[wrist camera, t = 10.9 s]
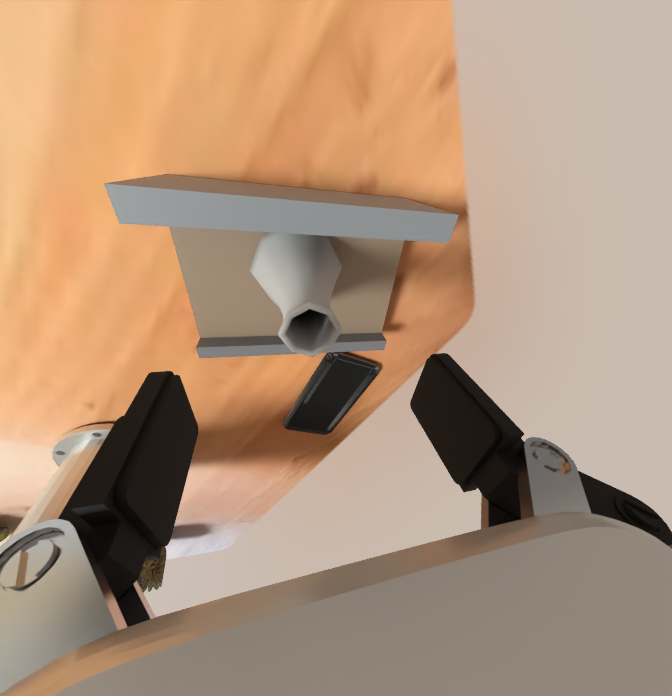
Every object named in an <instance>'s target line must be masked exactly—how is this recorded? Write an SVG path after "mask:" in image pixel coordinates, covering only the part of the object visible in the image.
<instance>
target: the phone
mask: <svg viewBox="0 0 672 696" xmlns="http://www.w3.org/2000/svg"><path fill="white" fill-rule="evenodd" d="M378 373H379V367H378V365H377V364H376V363H375V362H372V361H369V360H366V359H363V358H360V357H357V356H354V355H351V354H348V353H345V352H328V353H327V354H326V355H325V357H324V358H323V360H322V361H321V363H320V365H319V366H318V368H317V369H316V371H315V372H314V374H313V375H312V377H311V378H310V380H309V382H308V383H307V385H306V387H305V388H304V390H303V391H302V393H301V394H300V396H299V398H298V399H297V401H296V402H295V404H294V405H293V407H292V409H291V410H290V412H289V413H288V415H287V416H286V418H285V420H284V427H285V428H286V429H289V430H295V431H302V432H308V433H315V434H321V435H325V434H329V433H331V432H332V431H333V429H334V428H335V427H336V426H337V424H338V423H339V422H340V421H341V419H342V418H343V417H344V416H345V414H346V413H347V412H348V411H349V409H350V408H351V407H352V406H353V405H354V403H355V402H356V401H357V400H358V398H359V397H360V396H361V395H362V393H363V392H364V391H365V390H366V388H367V387H368V386H369V385H370V383H371V382H372V381H373V380H374V379H375V377H376V376H377V375H378Z"/></svg>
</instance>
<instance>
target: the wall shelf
mask: <svg viewBox="0 0 672 696" xmlns="http://www.w3.org/2000/svg"><path fill="white" fill-rule="evenodd" d="M104 184H105V187H106V190H107V192H108V195H109V197H110V200H111V203H112V205H113V208H114V210H115V213H116V216H117V218H118V221H119V223H120V224H137V225H154V226H169V227H170V231H171V235H172V238H173V242H174V245H175V249H176V253H177V256H178V260H179V263H180V267H181V270H182V274H183V278H184V281H185V285H186V288H187V292H188V296H189V299H190V303H191V306H192V310H193V314H194V317H195V321H196V324H197V328H198V332H199V335H200V340H199V342H198V345H197V347H196V348H197V352H198V355H199V358H214V357H236V356H259V355H281V354H299V353H295V352H292V351H291V350H290V349H289V348H288V347H287V345H286V344H285V343H284V342H283V340H282V339H281V338H280V337H279V336H278V332H279V330H280V327H281V325H282V323H283V314H282V312H281V310H280V308H279V306H278V305H276V304H275V303H274V302H273V301H272V300H271V299H270V297H269V296H268V295H267V293H266V292H265V291H264V289H263V288H262V287H261V285H260V284H259V283H258V281H257V280H256V279H255V277H254V276H253V275H252V273H251V272H250V268H251V265H252V262H253V259H254V255H255V252H256V249H257V246H258V243H259V240H260V237H261V236H262V235H264V234H265V233H267V232H272V233H289V234H305V235H322V236H329V238H330V240H331V242H332V244H333V247H334V249H335V251H336V253H337V255H338V257H339V259H340V262H341V264H342V269H341V272H340V274H339V276H338V278H337V281H336V283H335V286H334V289H333V292H332V295H331V309H332V311H333V312H334V314H335V316H336V318H337V319H338V321H339V323H340V325H341V326H342V331H341V333H340V335H339V336H338V338H337V340H336V341H335V343H334V345H333V346H332V347H331V348H329V349H327V350H326V351H324V352H322V353H326V352H349V351H371V350H384V348H385V344H386V339H385V338H384V336H383V334H382V329H383V325H384V321H385V317H386V313H387V309H388V305H389V301H390V297H391V293H392V289H393V285H394V281H395V277H396V273H397V269H398V265H399V261H400V257H401V253H402V249H403V245H404V241H405V240H406V241H423V242H440V243H449V241H450V238H451V236H452V233H453V230H454V227H455V224H456V221H457V218H458V216H459V215H458V214H454V213H451V212H448V211H445V210H441V209H438V208H435V207H432V206H428V205H425V204H422V203H419V202H415V201H412V200H409V199H406V198H399V197H389V196H379V195H369V194H359V193H349V192H339V191H329V190H319V189H309V188H299V187H289V186H279V185H269V184H259V183H249V182H239V181H229V180H219V179H209V178H199V177H189V176H179V175H169V174H164V175H157V176H151V177H144V178H138V179H131V180H124V181H118V182H111V183H104Z"/></svg>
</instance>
